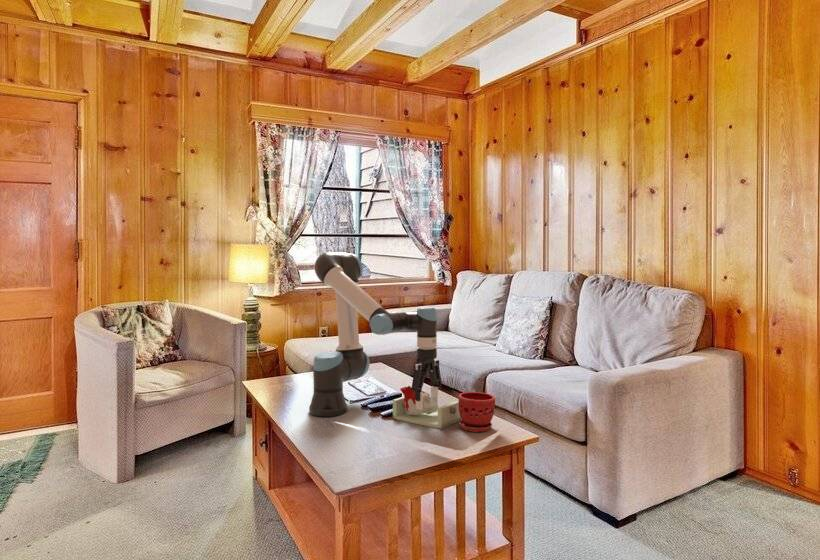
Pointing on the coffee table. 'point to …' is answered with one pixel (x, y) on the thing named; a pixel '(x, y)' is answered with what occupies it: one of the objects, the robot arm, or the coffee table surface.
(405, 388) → the candle
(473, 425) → the plant pot
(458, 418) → the holder
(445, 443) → the coffee table surface
